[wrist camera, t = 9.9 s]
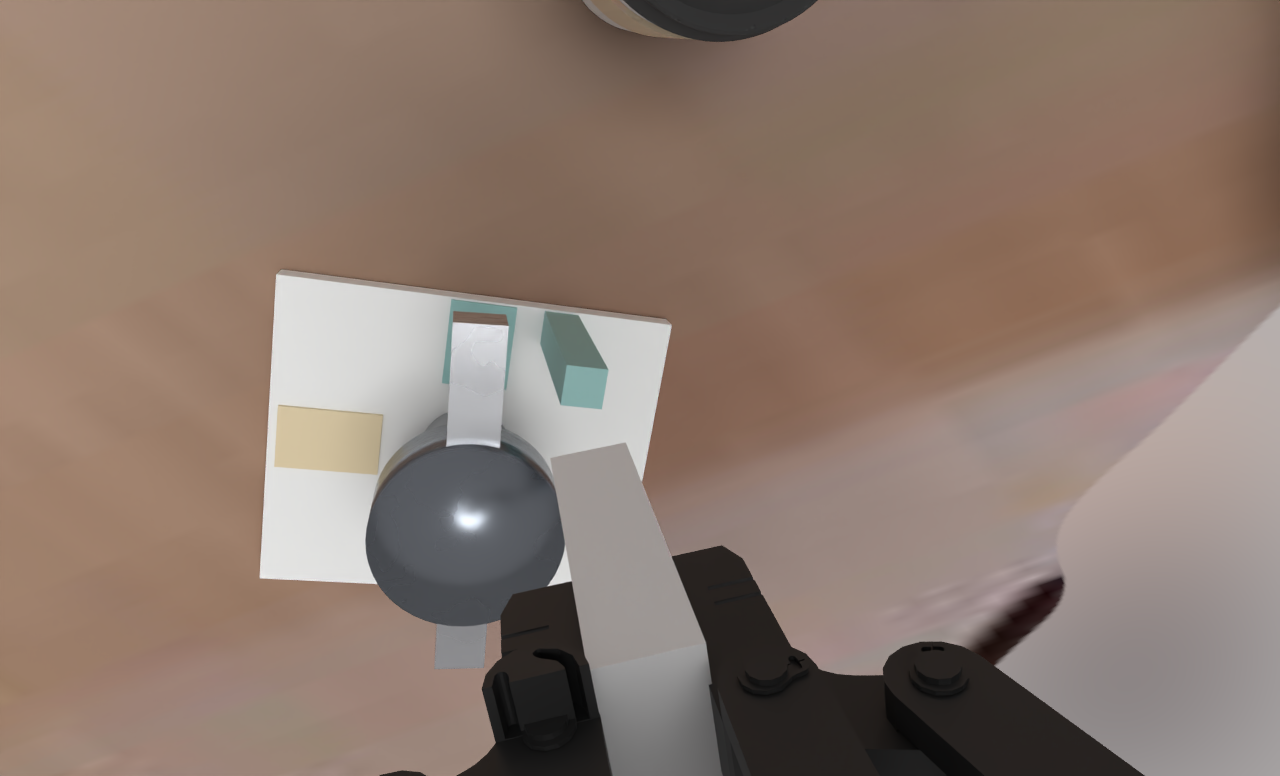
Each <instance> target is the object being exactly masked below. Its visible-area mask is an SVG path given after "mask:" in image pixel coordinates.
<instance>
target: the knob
mask: <svg viewBox="0 0 1280 776" xmlns="http://www.w3.org/2000/svg"><path fill="white" fill-rule="evenodd" d="M508 329H509V325H508V321H507V316H506V314H491V313H476V312H462V311H453V324H452V343H451V362H450V381H449V400H448V419H447V424H446V425H442V426H439V427H435V428H433V429H430V430H428V431H425V432H423V433H421V434H419V435H417V436H416V437H414V438H412V439H411V440H410V441H408V442H407V443H405V444H404V445H403V446H402V447H401V448H400V449H399V450H398V451H396V452H395V453H394V455H393V456H392V457H391V458H390V460H389V461H388V462H387V463H386V465H385V467H384V469H383V470H382V472H381V474H380V476H379V479H378V481H377V483H376V487H375V491H374V495H373V500H372V505H371V509H370V514H369V519H368V524H367V528H366V538H365V545H366V555H367V560H368V564H369V567H370V570H371V572H372V575H373V577H374V578H375V580H376V582H377V584H378V585H379V587H380V588H381V589H382V591H383V592H384V593H385V594H386V595H387V596H388V597H389V598H390V599H391V600H392V601H393V602H394V603H395V604H396V605H398V606H399V607H400V608H402V609H403V610H405V611H406V612H408V613H410V614H412V615H413V616H415V617H418V618H420V619H423V620H425V621H429V622H432V623H436V624H437V626H436V645H435V669H457V668H484V658H485V644H486V631H487V623H491V622H494V621H498V620H501V618H500V615H501V613H502V612H503V610H504V608H505V606H506V605H507V603H508V601H509V600H510V598H511V596H512V594H516V593H520V592H525V591H529V590H534V589H538V588H543V587H547V586H548V585H549V583H550V582H551V580H552V579H553V577H554V576H555V574H556V572H557V570H558V568H559V566H560V563H561V560H562V557H563V554H564V548H565V540H564V534H563V528H562V523H561V517H560V511H559V506H558V500H557V494H556V489H555V483H554V477H553V475H552V473H551V470H550V468H549V466H548V465H547V463H546V461H545V460H544V458H543V457H542V456H541V455H540V453H539V452H538V451H537V450H536V449H535V448H534V447H533V446H532V445H531V444H530V443H529V442H527V441H526V440H524V439H523V438H521V437H520V436H519V435H517V434H515V433H513V432H511V431H509V430H506V429H504V428H501V425H502V411H503V398H504V384H505V370H506V356H507V343H508Z"/></svg>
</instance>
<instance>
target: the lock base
mask: <svg viewBox="0 0 1280 776" xmlns="http://www.w3.org/2000/svg"><path fill="white" fill-rule="evenodd" d="M453 311H462V312H476V313H491V314H506V316H507V321H508V325H509V329H508V343H507V356H506V370H505V384H504V398H503V411H502V425H501V428H504V429H506V430H509V431H511V432H513V433H515V434H517V435H519V436H520V437H521V438H523V439H524V440H526V441H527V442H529V443H530V444H531V445H532V446H533V447H534V448H535V449H536V450H537V451H538V452H539V453H540V455H541V456H542V457H543V458H544V460H545V461H546V463H547V465H548V466H549V468H550V470H551V473H552V475H553V472H552V466H551V460H550V458H552V457H557V456H562V455H567V454H571V453H576V452H581V451H586V450H591V449H596V448H601V447H605V446H610V445H615V444H620V443H625V442H626V444H627V447H628V449H629V452H630V454H631V457H632V459H633V462H634V464H635V467H636V469H637V472H638V474H639V477H640V479H641V482H642V480H643V474H644V469H645V464H646V458H647V453H648V448H649V443H650V437H651V432H652V427H653V422H654V416H655V411H656V406H657V400H658V395H659V390H660V385H661V379H662V374H663V369H664V364H665V358H666V353H667V348H668V342H669V337H670V332H671V327H672V325H671V324H670V323H669V322H668V321H667V319H661V318H653V317H646V316H638V315H630V314H623V313H615V312H607V311H599V310H592V309H584V308H576V307H569V306H561V305H553V304H545V303H538V302H530V301H522V300H515V299H507V298H499V297H491V296H484V295H476V294H468V293H461V292H453V291H445V290H437V289H430V288H422V287H414V286H407V285H399V284H391V283H383V282H376V281H368V280H360V279H353V278H345V277H337V276H330V275H322V274H314V273H306V272H299V271H291V270H283V269H281V270H280V271H279V272H278V273H277V274H276V289H275V308H274V326H273V344H272V363H271V381H270V399H269V418H268V436H267V454H266V473H265V491H264V509H263V527H262V546H261V564H260V578H266V579H286V580H307V581H327V582H348V583H368V584H377V582H376V580H375V578H374V577H373V575H372V572H371V570H370V567H369V564H368V560H367V555H366V545H365V538H366V528H367V524H368V519H369V514H370V509H371V505H372V500H373V495H374V491H375V487H376V483H377V481H378V479H379V476H380V474H381V472H382V470H383V469H384V467H385V465H386V463H387V462H388V461H389V460H390V458H391V457H392V456H393V455H394V453H395V452H396V451H398V450H399V449H400V448H401V447H402V446H403V445H404V444H405V443H407V442H408V441H410V440H411V439H412V438H414V437H416V436H417V435H419V434H421V433H423V432H425V431H428V430H430V429H433V428H435V427H439V426H442V425H446V424H447V419H448V400H449V381H450V362H451V343H452V324H453ZM570 581H572V579H571V574H570V568H569V562H568V557H567V551H566V545H565V548H564V554H563V557H562V560H561V563H560V566H559V568H558V570H557V572H556V574H555V576H554V577H553V579H552V580H551V582H550V583H549V585H548V586H552V585H556V584H561V583H565V582H570Z"/></svg>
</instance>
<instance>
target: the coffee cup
mask: <svg viewBox="0 0 1280 776" xmlns="http://www.w3.org/2000/svg"><path fill="white" fill-rule="evenodd" d="M582 1H583V2H584V3H585V5H586V6H587V7H588V8H589V9H590V10H591V11H592V12H593V13H594V14H596V15H597V16H598V17H599V18H601V19H602V20H604V21H605V22H607V23H609V24H611V25H613V26H615V27H617V28H620V29H623V30H627V31H632V32H636V33H638V34H642V35H646V36H652V37H663V38H678V39H693V40H702V41H711V42H725V41H735V40H742V39H746V38H750V37H754V36H757V35H760V34H763V33H766V32H768V31H770V30H772V29H774V28H776V27H778V26H780V25H782V24H784V23H786V22H788V21H790V20H792V19H793V18H795V17H797V16H798V15H800V14H801V13H803V12H804V11H805V10H807V9H808V8H809V7H811V6H812V5H813V4H814V3H815V2H816V1H817V0H582Z"/></svg>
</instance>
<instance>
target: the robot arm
mask: <svg viewBox="0 0 1280 776" xmlns="http://www.w3.org/2000/svg"><path fill="white" fill-rule="evenodd" d="M550 460H551V466H552V472H553V477H554V483H555V489H556V494H557V500H558V506H559V511H560V517H561V523H562V528H563V534H564V540H565V545H566V551H567V557H568V562H569V568H570V574H571V579H572V581H570V582H565V583H561V584H556V585H552V586H547V587H543V588H538V589H534V590H529V591H525V592H520V593H516V594H512V596H511V598H510V600H509V601H508V603H507V605H506V606H505V608H504V610H503V612H502V613H501V615H500V618H501V639H502V640H501V653H502V659H500V660H499V661H497V662H496V663H495V665H494V666H493V667H492V668H491V669H490V671H489V672H488V673H487V674H486V676H485V680H484V683H483V687H482V692H483V695H484V699H485V703H486V707H487V711H488V715H489V718H490V722H491V726H492V730H493V734H494V738H495V741H496V744H495V745H494V746H493V747H492V749H491V750H490V751H489V752H488V754H487V755H486V756H484V757H483V758H482V759H481V760H480V761H479V762H478V763H476V764H475V765H474V766H472V767H471V768H469V769H467V770H466V771H464V772H462V773H461V774H459V775H457V776H1144V775H1143V774H1142V773H1140V772H1139V771H1137V770H1136V769H1135V768H1133V767H1132V766H1131V765H1129V764H1128V763H1127V762H1125V761H1124V760H1122V759H1121V758H1120V757H1118V756H1117V755H1116V754H1114V753H1113V752H1111V751H1110V750H1109V749H1107V748H1106V747H1104V746H1103V745H1102V744H1100V743H1099V742H1098V741H1096V740H1095V739H1094V738H1092V737H1091V736H1090V735H1088V734H1087V733H1085V732H1084V731H1083V730H1081V729H1080V728H1079V727H1077V726H1076V725H1074V724H1073V723H1072V722H1070V721H1069V720H1068V719H1066V718H1065V717H1063V716H1062V715H1060V714H1059V713H1058V712H1057V711H1055V710H1054V709H1052V708H1051V707H1050V706H1048V705H1047V704H1046V703H1044V702H1043V701H1041V700H1040V699H1039V698H1037V697H1036V696H1034V695H1033V694H1032V693H1031V692H1029V691H1028V690H1026V689H1025V688H1024V687H1022V686H1021V685H1019V684H1018V683H1017V682H1015V681H1014V680H1013V679H1011V678H1009V676H1007V675H1006V674H1004V673H1003V672H1002V671H1000V670H999V669H998V668H996V667H995V666H993V665H992V664H991V663H989V662H988V661H987V660H985V659H984V658H983V657H981V656H980V655H978V654H976V653H974V652H972V651H970V650H968V649H966V648H964V647H962V646H958V645H954V644H950V643H945V642H919V643H915V644H911V645H908V646H904V647H902V648H900V649H899V650H897V651H896V652H894V653H893V654H892V655H890V656H889V658H888V660H887V662H886V663H885V665H884V667H883V675H875V676H853V675H841V674H834V673H830V672H826V671H822V670H820V669H818V667H817V665H816V664H815V663H814V662H813V661H812V660H811V659H810V658H809V657H808V656H807V654H805V653H803V652H801V651H799V650H797V649H795V648H792V647H791V646H790V644H789V642H788V640H787V638H786V637H785V635H784V633H783V631H782V629H781V627H780V626H779V624H778V622H777V620H776V618H775V617H774V615H773V613H772V611H771V609H770V607H769V606H768V604H767V602H766V600H765V598H764V597H763V595H761V591H760V589H759V588H758V586H757V584H756V582H755V580H753V577H752V575H751V573H750V571H749V569H748V568H747V566H746V564H745V562H744V560H743V559H742V558H741V557H739V556H738V555H736V554H735V553H733V552H731V551H730V550H728V549H727V548H725V547H724V546H717V547H713V548H708V549H704V550H699V551H695V552H690V553H686V554H681V555H677V556H672V557H671V554H670V552H669V549H668V547H667V544H666V542H665V539H664V537H663V534H662V532H661V529H660V527H659V524H658V522H657V519H656V517H655V514H654V512H653V509H652V507H651V504H650V502H649V499H648V497H647V494H646V492H645V489H644V487H643V484H642V482H641V479H640V477H639V474H638V472H637V469H636V467H635V464H634V462H633V459H632V457H631V454H630V452H629V449H628V447H627V444H626V442H625V443H620V444H615V445H610V446H605V447H601V448H596V449H591V450H586V451H581V452H576V453H571V454H567V455H562V456H557V457H552V458H550ZM380 776H426V775H424V774H423V773H421V772H412V771H397V772H393V773H388V774H383V775H380Z"/></svg>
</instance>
